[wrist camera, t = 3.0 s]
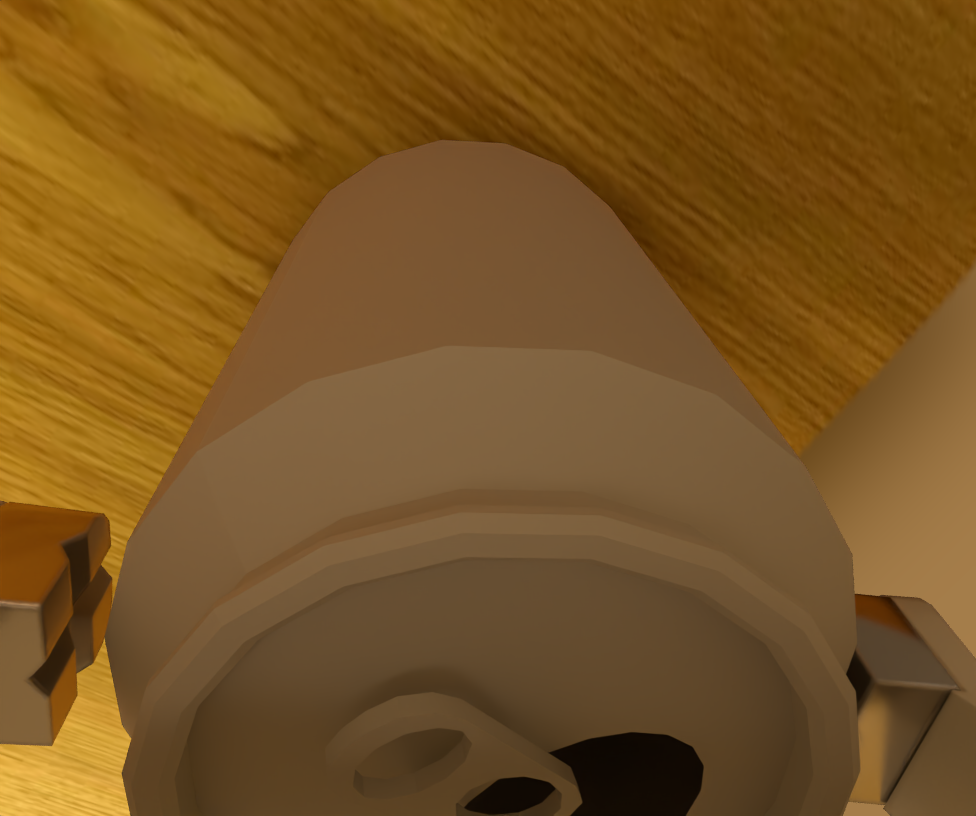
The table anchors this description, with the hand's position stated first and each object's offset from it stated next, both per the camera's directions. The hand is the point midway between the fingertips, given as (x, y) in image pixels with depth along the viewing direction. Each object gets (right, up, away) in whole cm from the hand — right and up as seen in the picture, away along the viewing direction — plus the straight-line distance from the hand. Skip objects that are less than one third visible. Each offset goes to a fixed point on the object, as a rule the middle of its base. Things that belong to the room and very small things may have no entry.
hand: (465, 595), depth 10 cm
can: (0, +4, +8) cm, 9 cm away
